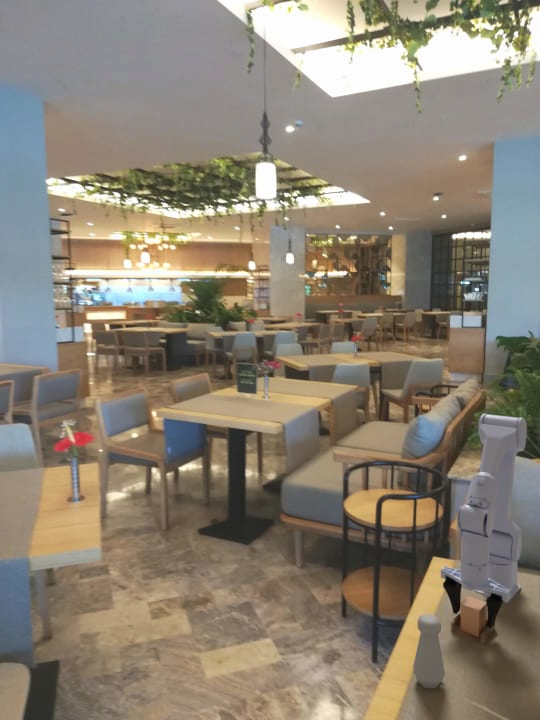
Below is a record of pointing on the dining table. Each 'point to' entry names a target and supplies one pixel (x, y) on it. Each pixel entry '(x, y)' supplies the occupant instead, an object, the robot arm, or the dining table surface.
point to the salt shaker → (429, 653)
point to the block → (473, 616)
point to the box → (457, 628)
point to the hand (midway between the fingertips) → (473, 618)
